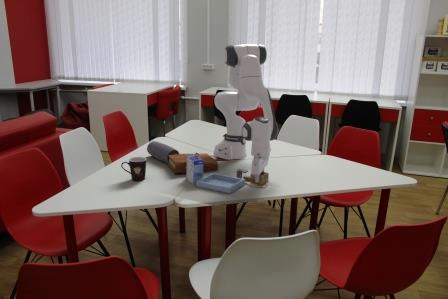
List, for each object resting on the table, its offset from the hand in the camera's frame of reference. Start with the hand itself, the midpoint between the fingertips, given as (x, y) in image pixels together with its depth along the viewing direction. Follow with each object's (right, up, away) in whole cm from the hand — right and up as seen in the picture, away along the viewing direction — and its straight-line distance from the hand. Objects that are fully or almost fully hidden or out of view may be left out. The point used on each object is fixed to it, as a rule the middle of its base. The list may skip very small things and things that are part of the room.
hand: (259, 179), depth 185 cm
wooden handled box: (-4, -2, +2) cm, 5 cm away
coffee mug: (-61, 0, +5) cm, 61 cm away
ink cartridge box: (-31, -2, +3) cm, 32 cm away
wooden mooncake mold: (-2, -1, +2) cm, 3 cm away
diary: (-35, +4, +21) cm, 41 cm away
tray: (-19, -3, -4) cm, 19 cm away
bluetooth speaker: (-52, +7, +34) cm, 63 cm away
